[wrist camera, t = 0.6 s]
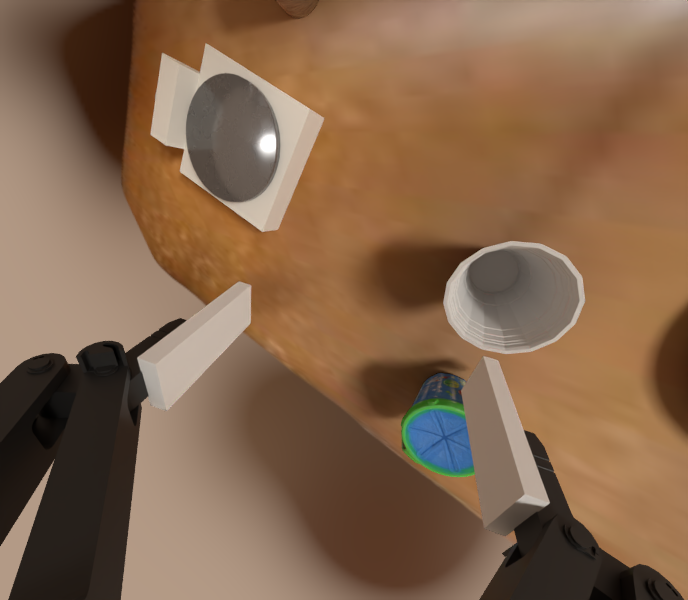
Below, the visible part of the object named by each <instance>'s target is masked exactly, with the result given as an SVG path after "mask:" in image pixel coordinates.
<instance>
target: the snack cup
mask: <svg viewBox="0 0 688 600" xmlns="http://www.w3.org/2000/svg"><path fill="white" fill-rule="evenodd" d="M465 384H466V381H465V380H464V379H461V378H459V377H457V376H455V375H452V374H444V373H437V374H436V375H434V376H431V377H430V378H428V379H427V380H426V381H425V382H424V383H423V385H422V387H421V390H420V391H419V393H418V395H417V397H416V399H415V401H414V403H413V405H412V407H411V408H410V409H409V410H408V412H407V413H406V415H405V416H404V417H403V419H402V422H401V426H402V431H401V432H402V450H403V451H404V453H405V454H406V455H407V456H408V457H409V458H411V459H412V460H413V461H414V462H416V463H418V464H421V465H423V466H424V467H426V468H427V469H429V470H431V471H433V472H436V473H438V474H442V475H445V476H451V477H467V476H471V475H474V474H475V471H474V465H473V459H472V453H471V447H470V441H469V435H468V429H467V423H466V417H465V411H464V405H463V399H462V393H461V390H462V389H463V387H464V385H465Z"/></svg>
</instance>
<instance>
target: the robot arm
mask: <svg viewBox="0 0 688 600" xmlns="http://www.w3.org/2000/svg"><path fill="white" fill-rule="evenodd" d="M250 323H251V285H249V284H246V283H242V282H237V283H236V284H235V285H233V286H232V287H231V288H229V289H228V290H227V291H225V292H224V293H223V294H221V295H220V296H219V297H217V298H216V299H215V300H213V301H212V302H211V303H209V304H208V305H207V306H205V307H204V308H203V309H201V310H200V311H199V312H197V313H196V314H195V315H193V316H192V317H191V318H190V319H188V320H184V319H181V318H180V319H177V320H174V321H172V322H169V323H167V324H166V325H165V326H163V327H162V328H160V329H159V331H156V332H155V333H153V334H152V335H151V336H149V337H147V338H146V339H145V340H143V341H142V342H140V343H139V344H138V345H136V346H135V347H133V348H132V349H130V350H129V351H128V352H126V353H125V351H124V348H123V345H121V344H120V343H119V342H114V341H103V342H98V343H94V344H92V345H89V346H87V347H85V348H84V349H82V350H81V351H80V352H79V353H78V355H77V356H76V358H77V360H78V362H79V364H68V363H67V361H66V359H65V357H64V356H62V355H60V354H54V353H50V354H42V355H39V356H35V357H33V358H30V359H28V360H26V361H24V362H23V363H21V364H20V365H18V366H17V367H16V368H15V369H14V370H13V371H12V372H11V373H10V374H9V375H8V376H7V377H6V378H5V379H4V380H3V381H2V382H1V383H0V546H1V544H2V543H3V541H4V540H5V538H6V536H7V535H8V533H9V531H10V530H11V528H12V527H13V525H14V523H15V522H16V520H17V519H18V517H19V515H20V514H21V512H22V511H23V509H24V507H25V506H26V504H27V503H28V501H29V499H30V498H31V496H32V495H33V493H34V491H35V490H36V488H37V487H38V485H39V483H40V481H41V480H42V478H43V477H44V475H45V474H46V472H47V470H48V469H49V467H50V466H51V464H52V462H53V461H54V463H53V466H52V469H51V472H50V475H49V478H48V481H47V484H46V487H45V490H44V493H43V496H42V500H41V503H40V505H39V509H38V511H37V515H36V517H35V521H34V524H33V527H32V530H31V533H30V536H29V539H28V542H27V545H26V548H25V551H24V554H23V557H22V560H21V563H20V566H19V569H18V572H17V575H16V578H15V581H14V584H13V587H12V590H11V593H10V596H9V599H8V600H121V591H122V582H123V573H124V564H125V554H126V545H127V537H128V527H129V519H130V510H131V501H132V492H133V483H134V473H135V464H136V454H137V446H138V437H139V428H140V419H141V410H142V407H141V402H142V401H143V400H144V399H146V398H147V397H148V398H149V401H150V405H151V406H154V407H157V408H160V409H162V410H165V411H167V410H168V409H169V408H170V407H171V406H172V405H173V404H174V403H175V402H176V401H177V400H178V399H179V398H180V397H181V396H182V395H183V394H184V393H185V391H186V390H187V389H188V388H189V387H190V386H191V385H192V384H193V383H194V382H195V381H196V380H197V379H198V378H199V377H200V376H201V375H202V374H203V373H204V372H205V371H206V369H207V368H208V367H209V366H210V365H211V364H212V363H213V362H214V361H215V360H216V359H217V358H218V357H219V356H220V355H221V354H222V352H224V350H226V348H227V347H228V346H229V345H230V344H231V343H232V342H233V341H234V340H235V339H236V338H237V337H238V336H239V335H240V334H241V333H242V332H243V331H244V330H245V329H246V327H247V326H248V325H249V324H250ZM461 393H462V399H463V405H464V411H465V417H466V423H467V429H468V435H469V441H470V447H471V453H472V459H473V465H474V471H475V477H476V482H477V488H478V494H479V500H480V506H481V512H482V518H483V524H484V529H487V530H489V531H492V532H495V533H498V534H500V535H503V536H507V535H508V534H509V533H511V532H512V531H513V530H514V531H515V535H516V539H517V543H516V544H514V545H513V546H512V547H510V548H509V549H508V550H506V551H505V552H503V553H502V554H503V555H504V556H506V558H505V559H504V561H503V563H502V564H501V566H500V567H499V569H498V571H497V572H496V574H495V575H494V577H493V579H492V580H491V582H490V583H489V585H488V587H487V588H486V590H485V591H484V593H483V595H482V596H481V598H480V600H684V599H683V598H682V596H681V595H680V593H679V592H678V591H677V590H676V589H675V588H674V586H673V585H672V584H671V583H670V582H669V581H668V580H667V579H666V578H664V577H663V576H662V575H661V574H660V573H659V572H657V571H655V570H654V569H652V568H650V567H649V566H646V565H641V564H638V565H636V566H634V567H631V568H629V567H628V566H626V565H625V564H623V563H622V562H620V561H619V560H617V559H616V558H614V557H613V556H611V555H609V554H608V553H606V552H605V551H603V550H602V549H601V548H599V546H598V544H597V542H596V541H595V539H594V537H593V536H592V534H591V533H590V532H589V531H588V530H587V529H586V528H585V526H584V525H583V524H581V523H580V522H579V521H577V520H576V519H575V518H574V517H573V515H572V513H571V511H570V509H569V506H568V504H567V501H566V499H565V496H564V494H563V492H562V489H561V487H560V484H559V482H558V479H557V477H556V475H555V473H554V470H553V467H552V465H551V462H549V458H548V455H547V453H546V450H545V448H544V446H543V445H542V443H541V442H540V441H539V439H538V438H537V437H536V435H535V434H534V433H531V432H528V431H525V430H523V427H522V425H521V422H520V419H519V416H518V414H517V411H516V408H515V405H514V403H513V400H512V397H511V394H510V392H509V389H508V386H507V383H506V381H505V378H504V375H503V372H502V370H501V367H500V364H499V361H498V360H495V359H492V358H489V357H485V356H483V357H482V359H481V360H480V362H479V363H478V365H477V366H476V368H475V370H474V371H473V373H472V374H471V376H470V377H469V379H468V381H467V382H466V384H465V385H464V387H463V389H462V390H461ZM54 459H55V460H54Z"/></svg>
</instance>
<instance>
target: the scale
mask: <svg viewBox="0 0 688 600" xmlns="http://www.w3.org/2000/svg"><path fill="white" fill-rule="evenodd" d="M223 73H230V74H235V75H238V76H240V77H242V78H244V79H246V80H248V81H249V82H251V83H252V84H254V85H255V86H256V87H258V89H259V90H260V91H261V92H262V93H263V94H264V95H265V97H266V98H267V99H268V101H269V103H270V105H271V106H272V109H273V111H274V113H275V116H276V119H277V123H278V127H279V133H280V158H279V163H278V167H277V170H276V173H275V176H274V178H273V180H272V182H271V183H270V185H269V186H268V188H267V189H266V190H265V191H264V192H263V193H262V194H261V195H260V196H258V197H257V198H255V199H253V200H250V201H247V202H229V201H226V200H223V199H221V198H219V197H217V196H215V195H214V194H213V193H211V192H210V191H209V190H208V189H207V188H206V187H205V186H204V184H203V183H202V182H201V181H200V179H199V177H198V176H197V174H196V172H195V170H194V168H193V165H192V163H191V160H190V157H189V153H188V148H187V142H186V120H187V114H188V110H189V106H190V103H191V101H192V98H193V96H194V94H195V93H196V91H197V90H198V88H199V87H200V86H201V85H202V84H203V83H204V82H205V81H206V80H207V79H209V78H211V77H212V76H214V75H218V74H223ZM323 121H324V118H323V117H322V116H320V115H318V114H317V113H315V112H314V111H312V110H311V109H309V108H308V107H306V106H304V105H303V104H301V103H300V102H298V101H297V100H295V99H293V98H292V97H290V96H289V95H287V94H285V93H284V92H282V91H281V90H279V89H278V88H276V87H274V86H273V85H271V84H270V83H268V82H267V81H265V80H263V79H262V78H260V77H259V76H257V75H256V74H254V73H252V72H251V71H249V70H248V69H246V68H245V67H243V66H241V65H240V64H238V63H237V62H235V61H233V60H232V59H230V58H229V57H227V56H226V55H224V54H222V53H221V52H219V51H218V50H216V49H215V48H213V47H211V46H210V45H208V44H207V43H206V45H205V50H204V55H203V60H202V65H201V70H200V72H199V71H197V70H195V69H193V68H191V67H190V66H188V65H186V64H184V63H182V62H180V61H178V60H176V59H174V58H172V57H170V56H168V55H166V54H164V53H162V58H161V65H160V72H159V79H158V86H157V90H156V94H155V107H154V114H153V121H152V128H151V134H150V135H152V136H153V137H155V138H156V139H157V140H159V141H160V142H162V143H163V144H164V145H166V146H171V147H176V148H181V149H184V153H183V158H182V163H181V168H180V172H181V173H182V174H184V175H185V176H186V177H188V178H189V179H191V180H192V181H193V182H195V183H196V184H197V185H199V186H200V187H202V188H203V189H204V190H206V191H207V192H208V193H210V194H211V195H212V196H214V197H215V198H217V199H218V200H219V201H221V202H222V203H223V204H225V205H226V206H228V207H229V208H230V209H232V210H233V211H234V212H236V213H237V214H239V215H240V216H241V217H243V218H244V219H245V220H247V221H248V222H249V223H251V224H252V225H254V226H255V227H256V228H258V229H259V230H260V231H262V232H265V231H272V230H278V228H279V226H280V224H281V221H282V219H283V216H284V214H285V212H286V209H287V207H288V204H289V202H290V200H291V197H292V195H293V192H294V190H295V188H296V185H297V183H298V181H299V178H300V176H301V173H302V171H303V169H304V166H305V164H306V161H307V159H308V157H309V154H310V152H311V150H312V147H313V145H314V142H315V140H316V138H317V135H318V133H319V130H320V128H321V126H322V123H323Z"/></svg>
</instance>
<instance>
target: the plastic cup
mask: <svg viewBox="0 0 688 600" xmlns="http://www.w3.org/2000/svg"><path fill="white" fill-rule="evenodd" d="M584 302H585V296H584V288H583V279H582V276H581V275H580V273H579V272H578V271H577V269H576V268H575V267H574V266H573V264H572V263H571V262H570V260H569V259H568V258H567V256H565V255H563V254H561V253H559V252H557V251H555V250H553V249H551V248H549V247H547V246H545V245H543V244H539V243H527V242H515V241H509V242H505V243H502V244H498V245H494V246H490V247H486V248H482V249H481V250H479V251H478V252H476V253H475V254H473V255H472V256H470V257H469V258H467V259H466V260H464V261H463V262H461V263H460V264H459V266H458V267H457V269H456V270H455V272H454V273H453V274H452V276H451V277H450V279H449V280H448V282H447V285H446V291H445V296H444V301H443V304H444V307H445V311H446V315H447V318H448V322H449V323H450V324H451V326H452V327H453V328H454V329H455V331H456V332H457V333H458V334H459V335H460V337H461V338H463V339H464V340H466V341H468V342H470V343H471V344H473V345H475V346H477V347H478V348H480V349H483V350H488V351H493V352H498V353H503V354H511V353H522V352H532V351H534V350H537V349H539V348H541V347H544V346H546V345H549V344H551V343H553V342H556V341H557V340H558V339H559V338H560V337H561V336H563V335H564V334H565V333H566V332H567V331H568V330H569V329H570V328H571V327H572V326H574V325H575V324H576V321H577V319H578V317H579V314H580V312H581V309H582V307H583V305H584Z"/></svg>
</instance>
